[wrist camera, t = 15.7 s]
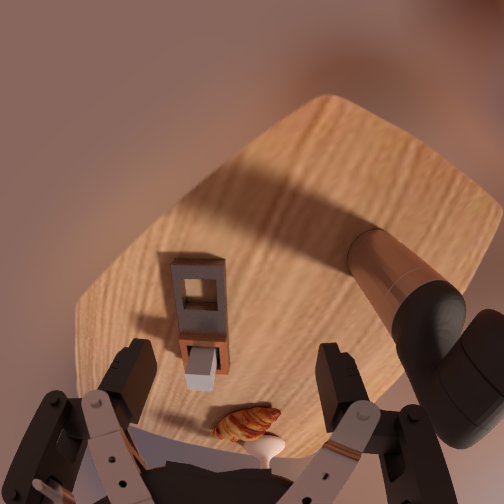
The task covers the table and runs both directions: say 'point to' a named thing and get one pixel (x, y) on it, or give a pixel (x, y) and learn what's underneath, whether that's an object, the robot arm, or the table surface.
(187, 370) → the peg
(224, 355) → the socket
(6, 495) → the robot arm
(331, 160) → the table surface
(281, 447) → the flower in vase
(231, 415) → the croissant
